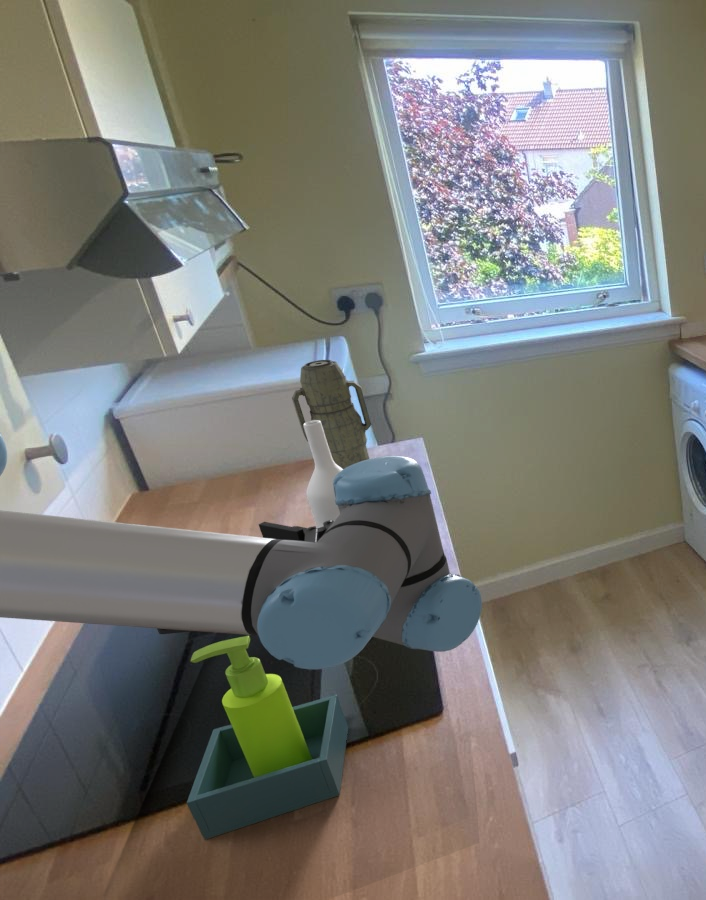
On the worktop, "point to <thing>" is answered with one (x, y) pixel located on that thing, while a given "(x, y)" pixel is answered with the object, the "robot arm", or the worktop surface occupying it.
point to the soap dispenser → (258, 710)
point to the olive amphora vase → (334, 410)
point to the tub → (269, 774)
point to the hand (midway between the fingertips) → (207, 560)
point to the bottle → (321, 476)
